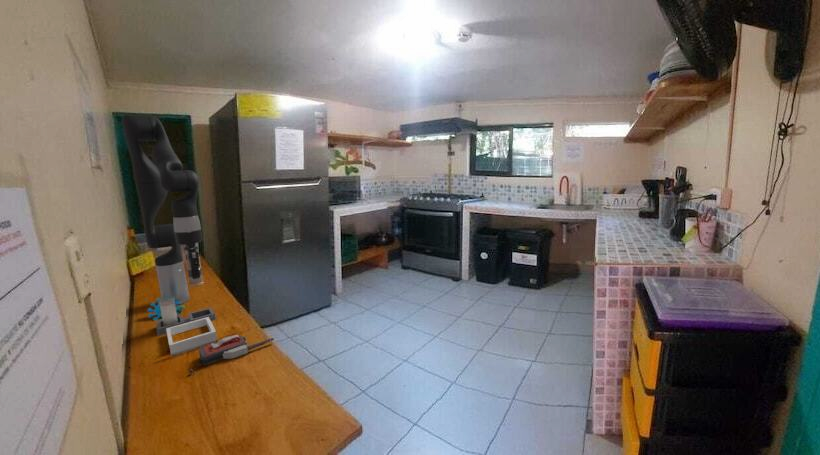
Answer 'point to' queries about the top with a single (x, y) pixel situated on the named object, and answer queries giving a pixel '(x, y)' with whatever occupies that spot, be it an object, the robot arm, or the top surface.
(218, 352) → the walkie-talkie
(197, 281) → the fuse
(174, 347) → the parts tray
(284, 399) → the top surface
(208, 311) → the fuse block
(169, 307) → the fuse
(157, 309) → the gear
